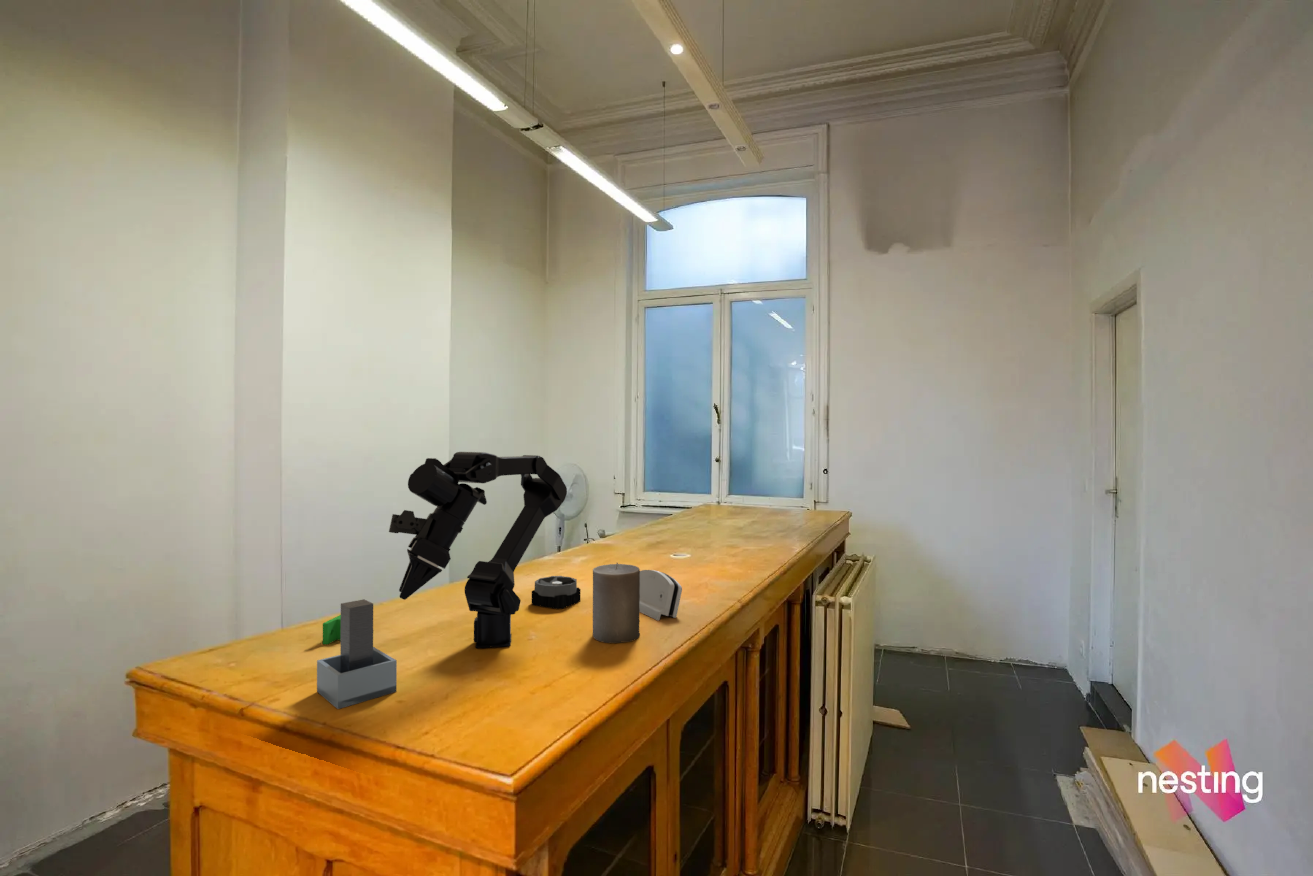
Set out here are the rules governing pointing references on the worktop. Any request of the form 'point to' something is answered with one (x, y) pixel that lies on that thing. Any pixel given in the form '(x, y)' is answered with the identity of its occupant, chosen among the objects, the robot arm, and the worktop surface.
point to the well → (356, 680)
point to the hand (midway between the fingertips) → (401, 595)
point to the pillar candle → (616, 603)
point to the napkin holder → (658, 594)
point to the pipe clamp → (332, 630)
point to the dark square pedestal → (356, 635)
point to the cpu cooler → (555, 592)
